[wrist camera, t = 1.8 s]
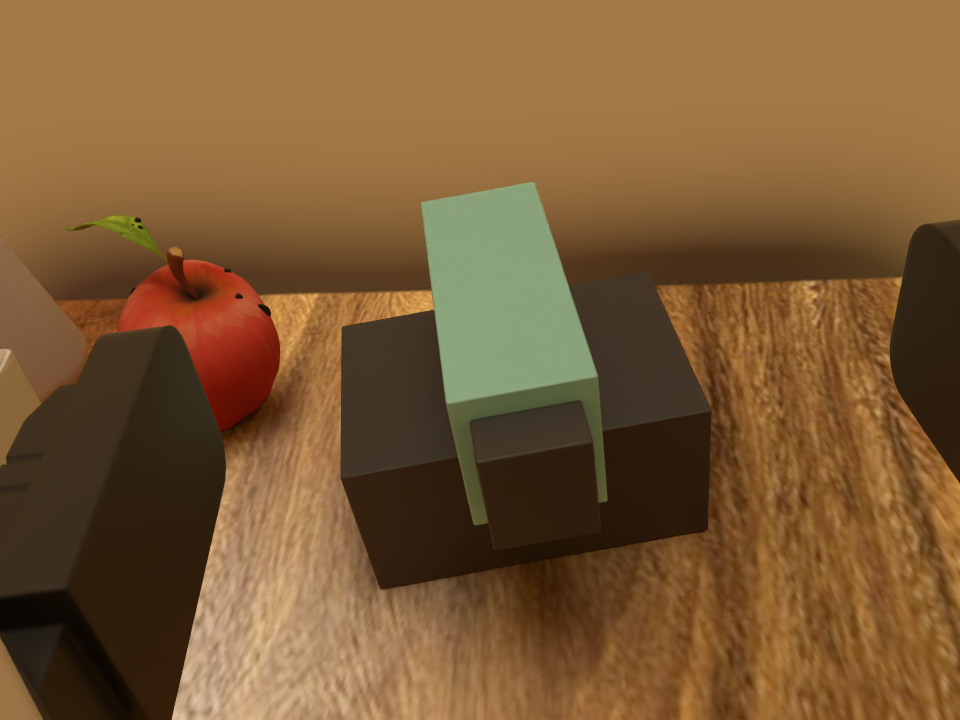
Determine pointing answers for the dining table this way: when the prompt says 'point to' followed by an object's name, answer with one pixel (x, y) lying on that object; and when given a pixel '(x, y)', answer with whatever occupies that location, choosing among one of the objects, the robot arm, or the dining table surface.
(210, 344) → the apple
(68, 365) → the salt shaker
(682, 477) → the stand
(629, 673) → the dining table surface
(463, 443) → the green block
